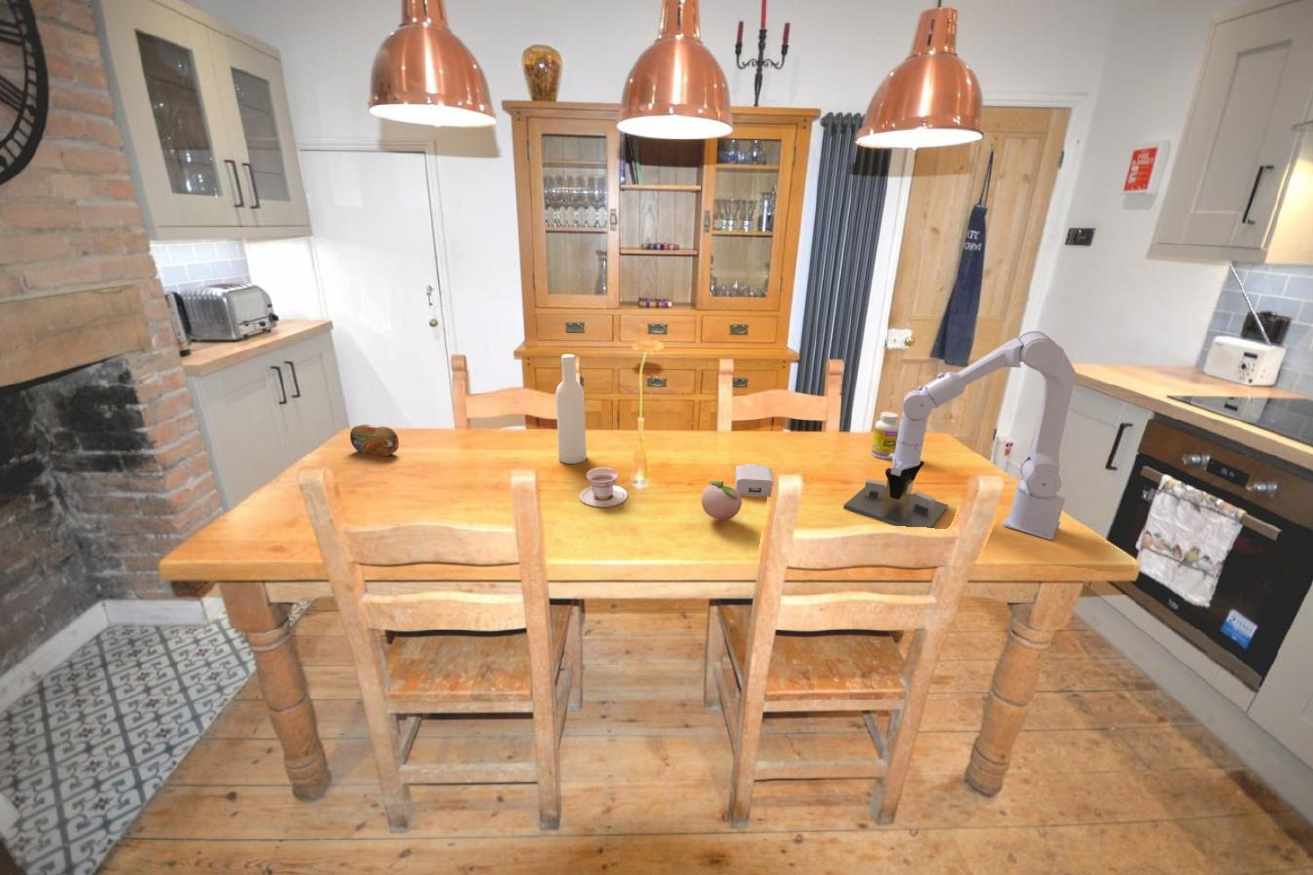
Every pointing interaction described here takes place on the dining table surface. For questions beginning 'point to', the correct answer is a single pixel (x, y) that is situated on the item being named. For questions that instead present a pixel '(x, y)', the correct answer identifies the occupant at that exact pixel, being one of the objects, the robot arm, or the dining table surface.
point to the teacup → (603, 488)
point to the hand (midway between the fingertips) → (900, 492)
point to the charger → (754, 480)
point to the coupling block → (905, 494)
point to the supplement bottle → (885, 436)
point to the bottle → (570, 414)
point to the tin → (374, 440)
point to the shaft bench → (896, 507)
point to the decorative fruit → (721, 501)
